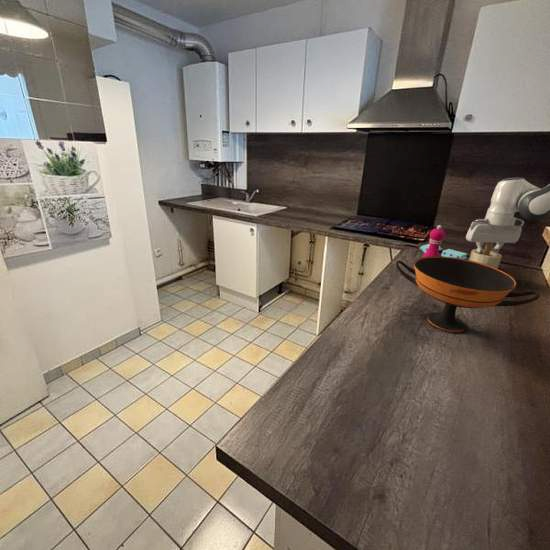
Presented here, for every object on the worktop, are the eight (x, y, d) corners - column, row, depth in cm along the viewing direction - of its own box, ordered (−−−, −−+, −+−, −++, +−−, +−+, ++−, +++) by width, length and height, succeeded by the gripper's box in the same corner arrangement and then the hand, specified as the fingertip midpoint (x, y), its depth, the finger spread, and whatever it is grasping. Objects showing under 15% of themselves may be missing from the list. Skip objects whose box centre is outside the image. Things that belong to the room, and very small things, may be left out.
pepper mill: (437, 266, 136) (449, 225, 128) (436, 271, 130) (448, 228, 123) (421, 263, 140) (431, 222, 132) (419, 268, 134) (430, 225, 126)
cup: (375, 320, 91) (385, 268, 84) (397, 292, 110) (407, 247, 103) (519, 369, 72) (548, 307, 65) (515, 325, 91) (538, 273, 84)
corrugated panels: (427, 248, 163) (418, 251, 158) (428, 243, 162) (419, 245, 156) (497, 267, 138) (489, 271, 133) (499, 261, 137) (491, 265, 132)
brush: (480, 273, 129) (492, 238, 122) (487, 277, 124) (500, 242, 118) (470, 273, 128) (481, 238, 122) (477, 277, 124) (489, 241, 118)
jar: (481, 272, 132) (489, 249, 127) (499, 282, 122) (508, 257, 118) (459, 271, 131) (466, 248, 127) (474, 281, 122) (483, 257, 117)
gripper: (478, 220, 113) (468, 254, 119) (528, 222, 114) (515, 255, 120) (468, 217, 119) (458, 249, 125) (515, 218, 120) (504, 250, 126)
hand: (486, 252), depth 122 cm, fingers open, 5 cm apart
